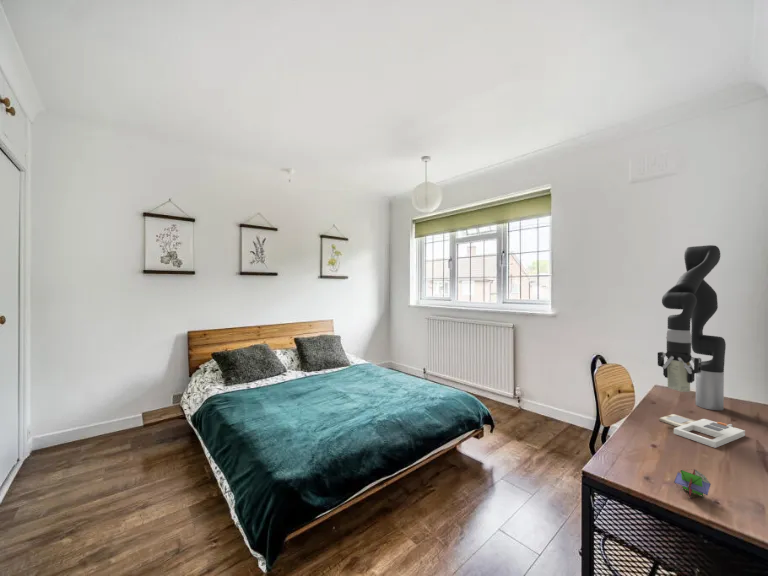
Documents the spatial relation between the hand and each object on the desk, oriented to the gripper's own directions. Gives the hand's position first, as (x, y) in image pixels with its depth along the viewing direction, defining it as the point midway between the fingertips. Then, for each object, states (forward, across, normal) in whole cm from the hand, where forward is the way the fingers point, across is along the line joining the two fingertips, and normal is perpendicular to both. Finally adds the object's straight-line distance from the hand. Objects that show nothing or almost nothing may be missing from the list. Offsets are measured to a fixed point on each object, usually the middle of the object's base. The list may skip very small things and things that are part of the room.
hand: (678, 379), depth 135 cm
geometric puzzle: (+18, -27, +53) cm, 62 cm away
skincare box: (+4, 0, 0) cm, 4 cm away
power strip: (+18, -11, 0) cm, 21 cm away
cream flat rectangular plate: (+18, 0, 0) cm, 18 cm away
